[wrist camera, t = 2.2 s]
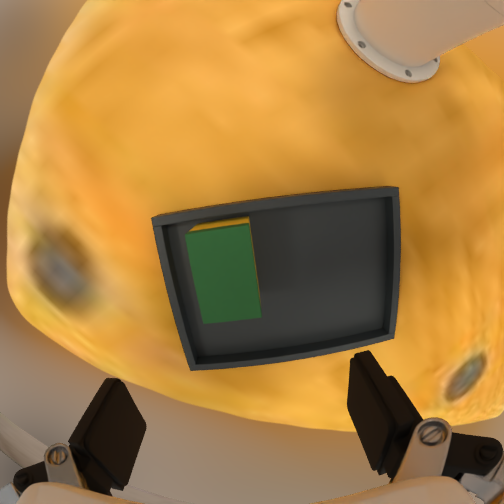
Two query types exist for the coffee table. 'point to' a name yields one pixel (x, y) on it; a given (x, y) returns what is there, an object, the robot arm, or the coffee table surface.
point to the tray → (294, 276)
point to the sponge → (224, 270)
